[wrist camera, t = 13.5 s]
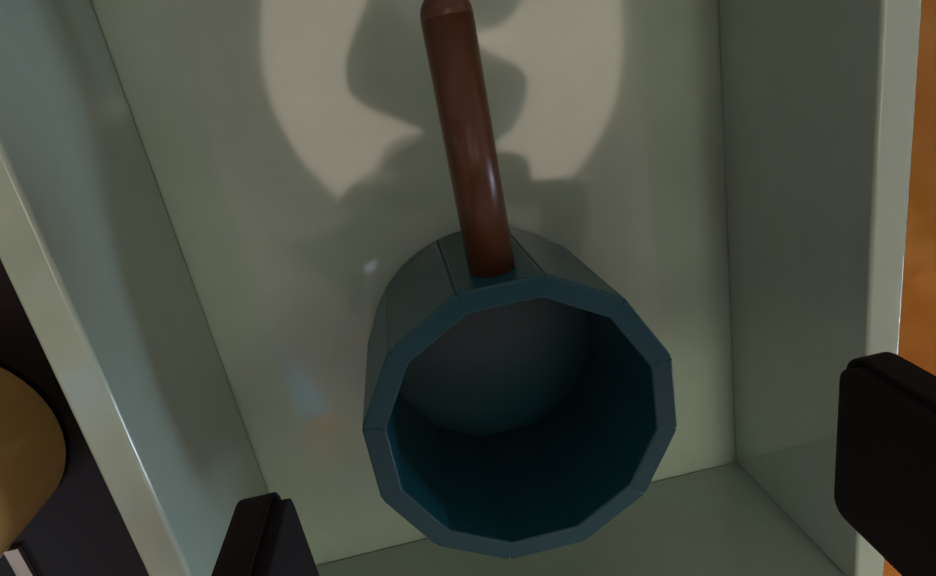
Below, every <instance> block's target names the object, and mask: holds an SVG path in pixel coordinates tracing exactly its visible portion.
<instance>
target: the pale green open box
mask: <svg viewBox="0 0 936 576" xmlns="http://www.w3.org/2000/svg"><path fill="white" fill-rule="evenodd" d="M423 1H424V0H0V259H1V261H2V263H3V265H4V268H5V270H6V272H7V274H8V276H9V278H10V280H11V283H12V285H13V287H14V289H15V291H16V293H17V295H18V297H19V300H20V302H21V304H22V306H23V308H24V310H25V312H26V314H27V317H28V319H29V321H30V323H31V325H32V327H33V329H34V331H35V334H36V336H37V338H38V340H39V342H40V344H41V346H42V348H43V351H44V353H45V355H46V357H47V359H48V361H49V363H50V365H51V368H52V370H53V372H54V374H55V376H56V378H57V380H58V382H59V385H60V387H61V389H62V391H63V393H64V395H65V397H66V399H67V402H68V404H69V406H70V408H71V410H72V412H73V414H74V416H75V419H76V421H77V423H78V425H79V427H80V429H81V431H82V433H83V436H84V438H85V440H86V442H87V444H88V446H89V448H90V450H91V453H92V455H93V457H94V459H95V461H96V463H97V465H98V468H99V470H100V472H101V474H102V476H103V478H104V480H105V482H106V485H107V487H108V489H109V491H110V493H111V495H112V497H113V499H114V502H115V504H116V506H117V508H118V510H119V512H120V514H121V516H122V519H123V521H124V523H125V525H126V527H127V529H128V531H129V533H130V536H131V538H132V540H133V542H134V544H135V546H136V548H137V550H138V553H139V555H140V557H141V559H142V561H143V563H144V565H145V567H146V570H147V572H148V574H149V576H211V575H212V572H213V569H214V566H215V564H216V561H217V558H218V555H219V552H220V550H221V547H222V544H223V541H224V538H225V536H226V533H227V530H228V527H229V524H230V522H231V519H232V516H233V513H234V510H235V508H236V505H237V503H238V502H239V501H240V500H242V499H246V498H251V497H255V496H259V495H264V494H268V493H272V492H276V493H278V494H279V496H280V497H281V500H283V499H288V498H290V499H291V500H292V501H293V503H294V506H295V508H296V511H297V514H298V517H299V520H300V522H301V525H302V528H303V531H304V534H305V536H306V539H307V542H308V545H309V548H310V550H311V553H312V556H313V559H314V562H315V564H316V567H317V570H318V573H319V576H884V561H885V558H884V557H883V556H882V555H881V554H880V553H879V552H878V551H877V550H876V549H875V548H874V547H872V546H871V545H870V544H869V543H868V542H867V541H866V540H865V539H864V538H863V537H862V536H861V535H860V534H859V533H858V532H857V531H856V530H855V529H854V528H853V527H852V526H851V525H850V524H849V523H848V522H847V521H846V520H845V519H844V518H843V517H842V515H841V514H840V512H839V511H838V509H837V506H836V504H835V500H834V483H835V462H836V442H837V421H838V401H839V380H840V375H841V373H842V371H844V370H846V368H847V365H848V363H849V362H850V361H851V360H853V359H855V358H859V357H864V356H868V355H872V354H877V353H881V352H891V353H894V354H896V355H898V351H899V336H900V321H901V306H902V290H903V275H904V260H905V245H906V230H907V215H908V200H909V185H910V170H911V155H912V140H913V125H914V110H915V95H916V80H917V65H918V50H919V35H920V20H921V5H922V0H470V3H471V5H472V8H473V12H474V18H475V24H476V30H477V36H478V43H479V49H480V55H481V61H482V67H483V73H484V79H485V85H486V91H487V97H488V103H489V109H490V115H491V121H492V127H493V133H494V140H495V146H496V152H497V158H498V164H499V170H500V176H501V182H502V188H503V194H504V200H505V206H506V212H507V218H508V224H509V228H516V229H520V230H524V231H528V232H531V233H534V234H536V235H539V236H541V237H544V238H545V239H547V240H549V241H551V242H554V243H557V244H560V245H562V246H563V247H565V248H567V249H568V250H569V251H570V252H571V253H572V254H574V255H575V256H576V257H577V258H578V259H579V260H581V261H582V262H583V263H584V264H585V265H586V266H587V267H589V268H590V269H591V270H592V271H593V272H594V273H596V274H597V275H598V276H599V277H600V278H601V279H603V280H604V281H605V282H606V283H607V284H608V285H610V286H611V287H612V288H613V289H614V290H615V291H616V292H618V293H619V294H620V295H621V296H622V297H623V298H625V299H626V300H627V301H628V303H629V304H630V305H631V306H632V308H633V309H634V310H635V311H636V313H637V314H638V315H639V316H640V317H641V319H642V320H643V321H644V322H645V324H646V325H647V326H648V327H649V329H650V330H651V331H652V332H653V333H654V335H655V336H656V337H657V338H658V340H659V341H660V342H661V343H662V345H663V346H664V347H665V348H666V349H667V351H668V352H669V353H670V355H671V358H672V367H673V380H674V393H675V406H676V419H677V427H676V432H675V434H674V436H673V438H672V440H671V442H670V444H669V446H668V448H667V450H666V452H665V454H664V456H663V458H662V460H661V462H660V464H659V466H658V468H657V470H656V472H655V474H654V476H653V478H652V480H651V482H650V484H649V486H648V488H647V490H646V492H645V493H643V496H642V497H640V498H639V499H638V500H636V501H635V502H634V503H633V504H631V505H630V506H629V507H627V508H626V509H625V510H624V511H622V512H621V513H620V514H618V515H617V516H616V517H615V518H613V519H612V520H611V521H609V522H608V523H607V524H606V525H604V526H603V527H602V528H600V529H599V530H598V531H597V532H595V533H594V534H593V535H591V536H590V537H589V538H588V539H586V540H585V539H583V541H582V542H578V543H574V544H570V545H566V546H562V547H559V548H555V549H551V550H547V551H543V552H539V553H535V554H531V555H527V556H523V557H519V558H515V559H511V558H509V559H504V558H499V557H493V556H488V555H483V554H478V553H472V552H467V551H462V550H457V549H451V548H446V547H441V546H439V545H438V544H434V543H433V542H432V541H431V540H430V539H428V538H427V537H426V536H425V535H424V534H423V533H421V532H420V531H419V530H418V529H417V528H415V527H414V526H413V525H412V524H411V523H409V522H408V521H407V520H406V519H405V518H403V517H402V516H401V515H400V514H399V513H398V512H396V511H395V510H394V509H393V508H392V507H390V506H389V505H388V504H387V503H386V502H384V500H383V498H382V497H381V496H380V492H379V489H378V485H377V482H376V478H375V474H374V471H373V467H372V464H371V460H370V457H369V453H368V450H367V446H366V443H365V439H364V436H363V432H362V423H363V408H364V393H365V378H366V363H367V349H368V340H369V337H370V334H371V331H372V328H373V322H374V318H375V314H376V310H377V307H378V305H379V302H380V300H381V297H382V295H383V293H384V291H385V288H386V286H388V283H389V282H390V281H391V279H392V278H393V277H394V276H395V274H396V273H397V272H398V270H399V269H400V268H401V267H402V266H403V265H404V264H405V263H406V262H407V261H408V260H409V259H410V258H411V257H412V256H413V255H415V254H416V253H417V252H419V251H420V250H421V249H423V248H424V247H426V246H427V245H429V244H431V243H433V242H434V241H436V240H438V239H440V238H442V237H445V236H447V235H450V234H452V233H455V232H459V231H461V229H460V224H459V219H458V214H457V209H456V203H455V198H454V193H453V188H452V183H451V178H450V172H449V167H448V162H447V157H446V152H445V146H444V141H443V136H442V131H441V126H440V121H439V115H438V110H437V105H436V100H435V95H434V90H433V84H432V79H431V74H430V69H429V64H428V59H427V53H426V48H425V43H424V38H423V33H422V28H421V22H420V9H421V5H422V3H423Z"/></svg>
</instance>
